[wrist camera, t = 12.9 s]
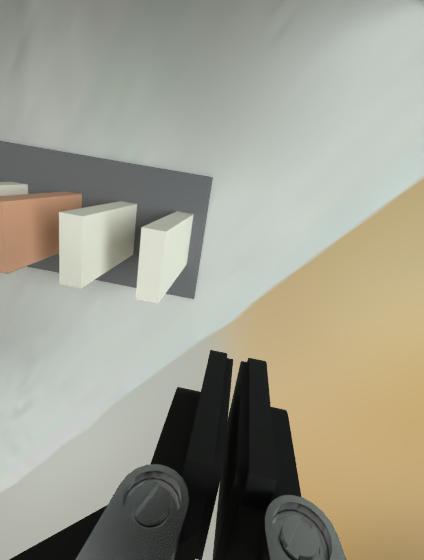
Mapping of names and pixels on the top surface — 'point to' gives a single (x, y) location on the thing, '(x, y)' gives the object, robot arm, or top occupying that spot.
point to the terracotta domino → (31, 227)
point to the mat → (115, 199)
